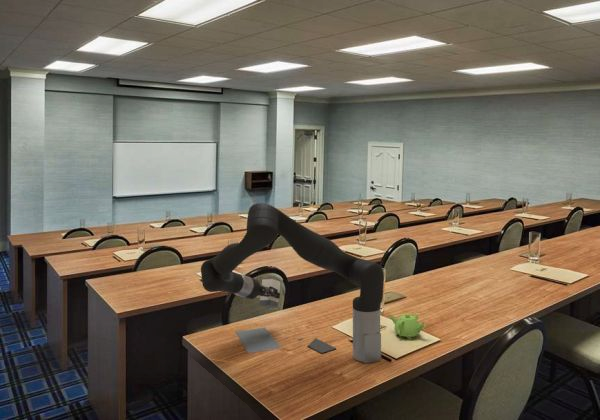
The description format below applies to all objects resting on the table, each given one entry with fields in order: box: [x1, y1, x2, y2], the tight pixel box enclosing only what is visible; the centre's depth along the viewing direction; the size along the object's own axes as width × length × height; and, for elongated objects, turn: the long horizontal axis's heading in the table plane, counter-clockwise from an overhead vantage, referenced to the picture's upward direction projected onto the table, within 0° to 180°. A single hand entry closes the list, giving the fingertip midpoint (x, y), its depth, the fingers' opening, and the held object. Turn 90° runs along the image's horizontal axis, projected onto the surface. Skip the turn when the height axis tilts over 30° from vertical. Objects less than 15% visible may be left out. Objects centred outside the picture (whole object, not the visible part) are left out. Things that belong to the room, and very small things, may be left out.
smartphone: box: [297, 337, 337, 355], centre depth 172 cm, size 7×1×15 cm
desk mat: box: [235, 327, 282, 354], centre depth 177 cm, size 22×12×1 cm, turn 20°
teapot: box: [389, 313, 427, 340], centre depth 179 cm, size 11×12×8 cm
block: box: [259, 278, 281, 309], centre depth 181 cm, size 5×5×10 cm
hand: (273, 296), depth 182 cm, fingers closed on block, 5 cm apart
